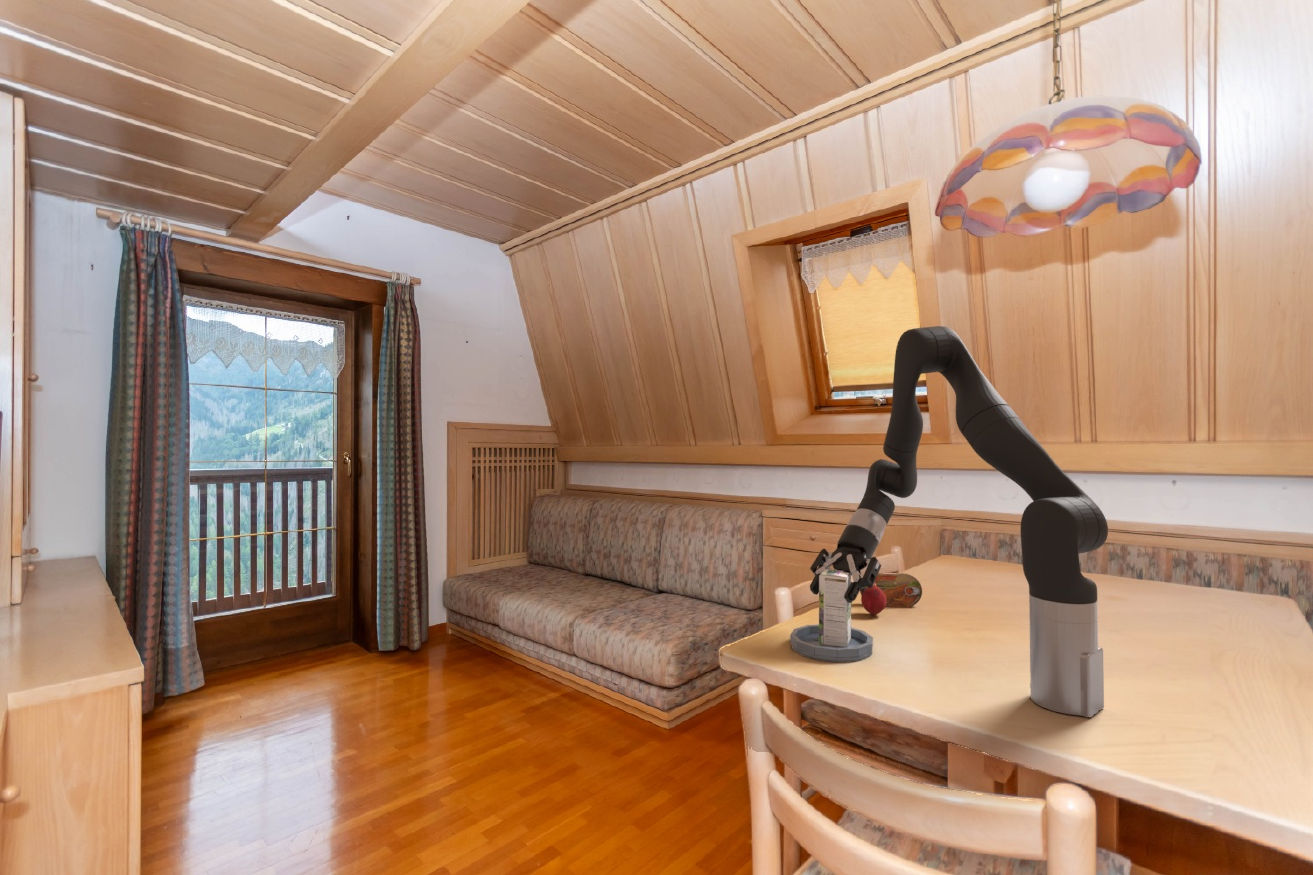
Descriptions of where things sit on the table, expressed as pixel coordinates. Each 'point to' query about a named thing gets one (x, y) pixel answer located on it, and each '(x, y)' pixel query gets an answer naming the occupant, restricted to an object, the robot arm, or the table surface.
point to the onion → (873, 600)
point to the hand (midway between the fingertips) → (829, 596)
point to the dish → (808, 646)
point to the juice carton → (834, 608)
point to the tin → (898, 589)
